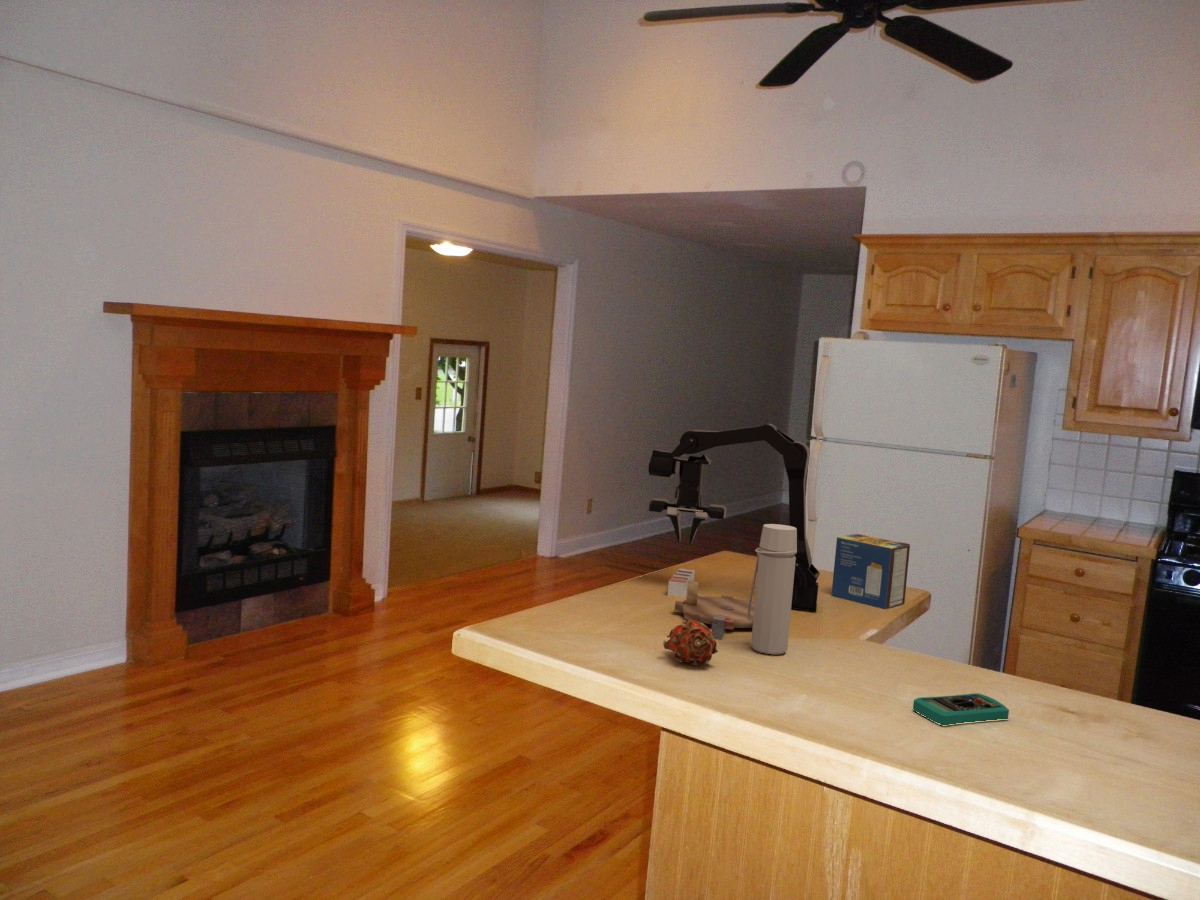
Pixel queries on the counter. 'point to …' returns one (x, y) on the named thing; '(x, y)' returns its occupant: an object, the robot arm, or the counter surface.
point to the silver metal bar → (680, 582)
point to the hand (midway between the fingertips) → (684, 542)
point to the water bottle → (773, 588)
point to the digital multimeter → (960, 708)
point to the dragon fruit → (692, 643)
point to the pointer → (718, 626)
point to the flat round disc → (715, 608)
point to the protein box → (870, 570)
